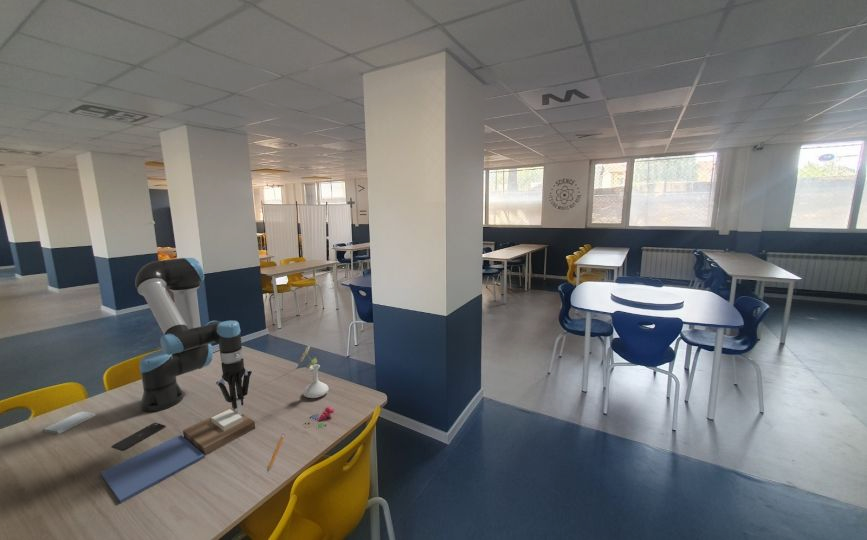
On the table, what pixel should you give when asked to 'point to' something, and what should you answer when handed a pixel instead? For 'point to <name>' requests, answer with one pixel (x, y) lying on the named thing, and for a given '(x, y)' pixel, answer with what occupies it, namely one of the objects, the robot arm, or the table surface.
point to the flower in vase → (314, 379)
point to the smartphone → (138, 436)
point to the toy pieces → (323, 416)
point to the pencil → (276, 452)
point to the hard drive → (68, 422)
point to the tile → (227, 419)
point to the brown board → (215, 434)
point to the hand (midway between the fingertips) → (238, 414)
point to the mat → (151, 467)
